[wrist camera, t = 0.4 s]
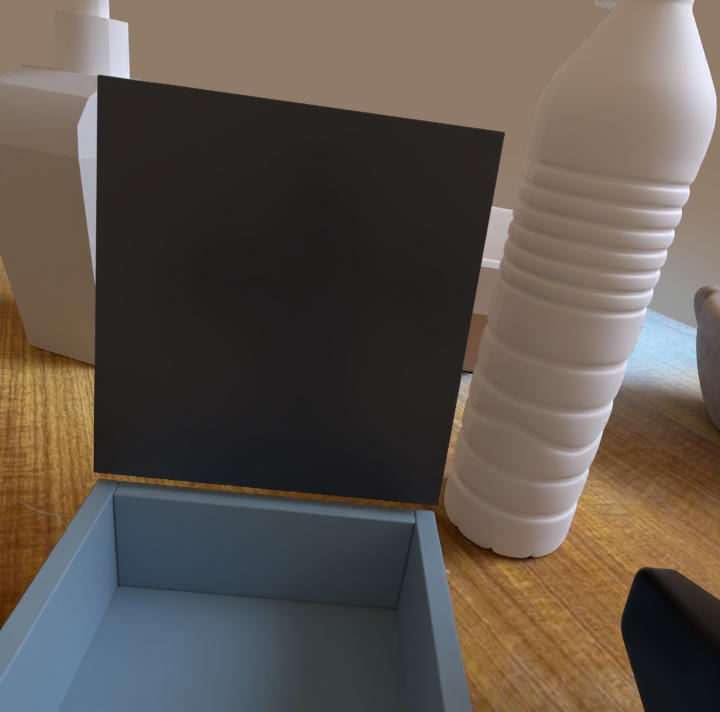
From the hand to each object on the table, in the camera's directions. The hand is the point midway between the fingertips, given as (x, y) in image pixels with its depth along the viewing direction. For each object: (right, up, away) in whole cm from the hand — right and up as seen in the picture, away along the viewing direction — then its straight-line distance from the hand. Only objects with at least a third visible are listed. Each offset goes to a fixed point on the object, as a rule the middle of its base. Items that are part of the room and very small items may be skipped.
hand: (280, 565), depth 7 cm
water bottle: (+9, -6, +24) cm, 26 cm away
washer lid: (-1, +4, +12) cm, 13 cm away
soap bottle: (-17, +4, +36) cm, 40 cm away
